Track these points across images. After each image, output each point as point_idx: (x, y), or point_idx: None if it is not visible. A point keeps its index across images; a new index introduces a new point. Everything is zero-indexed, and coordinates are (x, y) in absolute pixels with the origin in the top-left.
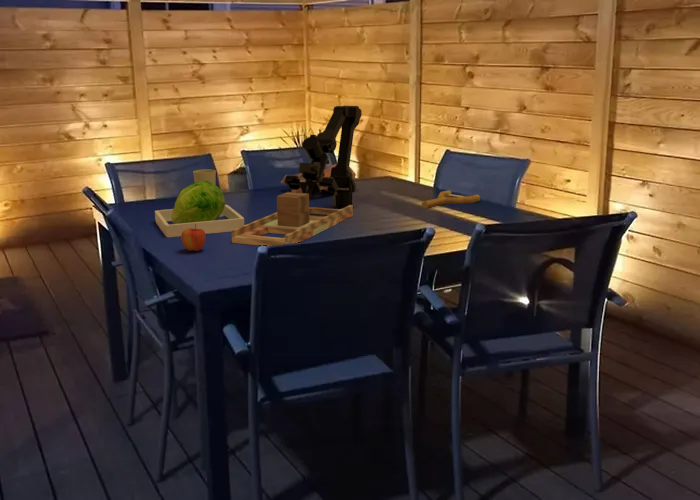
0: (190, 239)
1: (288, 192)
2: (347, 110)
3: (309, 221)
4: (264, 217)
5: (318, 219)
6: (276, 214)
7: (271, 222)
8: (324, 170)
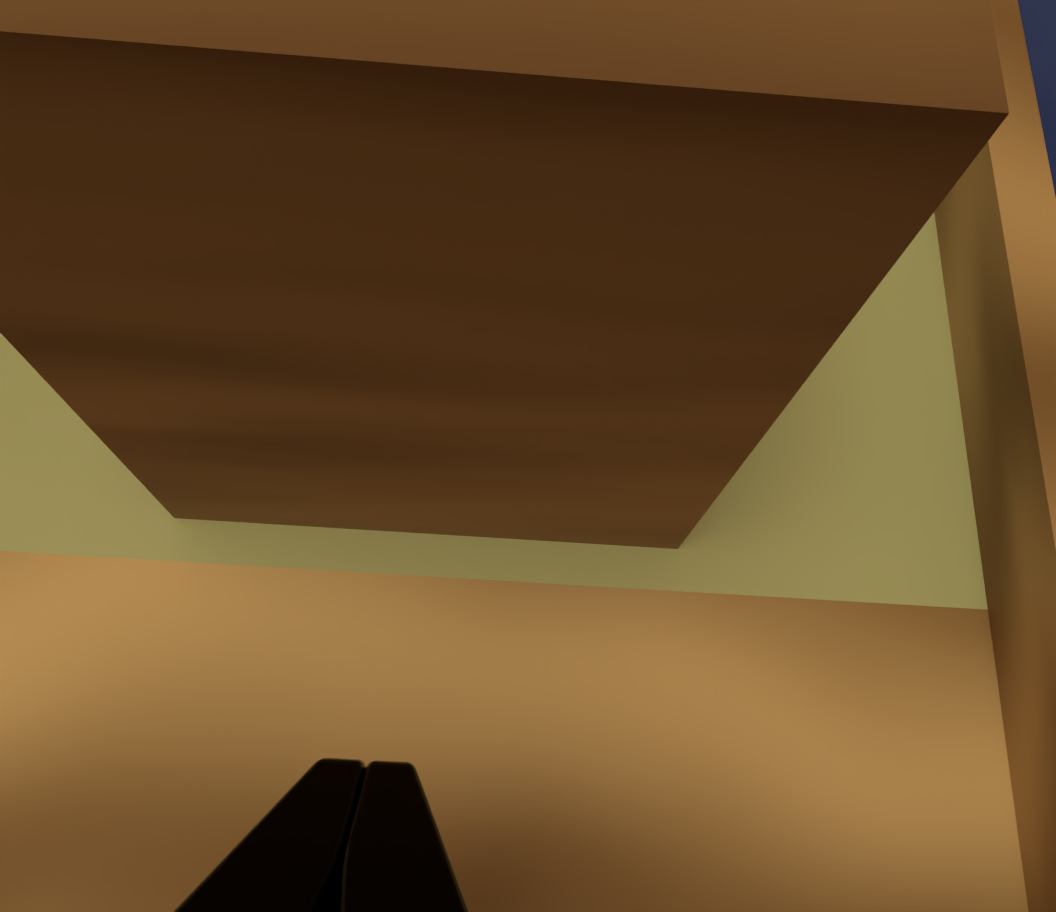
0: None
1: (917, 36)
2: None
3: (167, 507)
4: (1038, 165)
5: (40, 882)
6: (1044, 564)
7: (904, 312)
8: None
